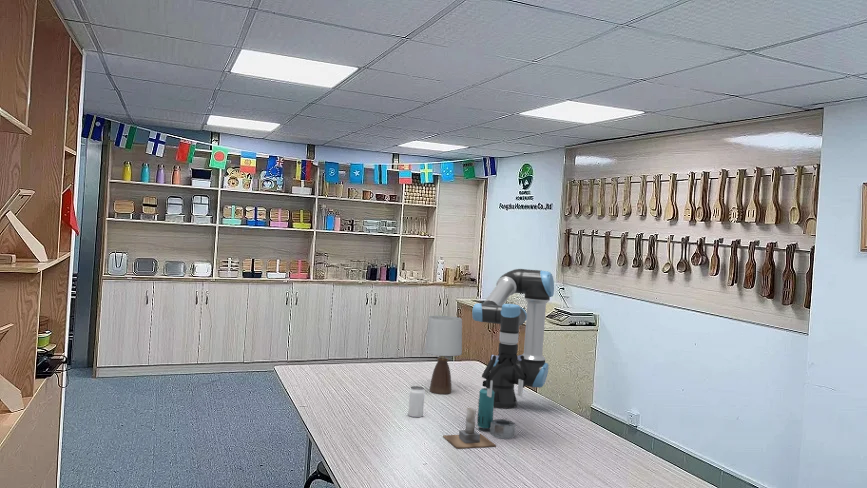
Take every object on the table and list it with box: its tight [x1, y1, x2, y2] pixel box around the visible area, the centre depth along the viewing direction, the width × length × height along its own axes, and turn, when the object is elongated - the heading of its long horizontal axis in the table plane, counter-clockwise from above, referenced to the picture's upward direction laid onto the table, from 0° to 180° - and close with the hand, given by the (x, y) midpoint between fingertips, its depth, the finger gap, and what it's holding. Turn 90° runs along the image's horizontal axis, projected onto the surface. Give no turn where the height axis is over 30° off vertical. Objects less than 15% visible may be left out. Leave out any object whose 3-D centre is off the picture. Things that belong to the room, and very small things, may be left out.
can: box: [407, 385, 425, 418], centre depth 281 cm, size 6×6×12 cm
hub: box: [489, 418, 516, 440], centre depth 261 cm, size 9×9×5 cm
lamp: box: [424, 315, 463, 395], centre depth 327 cm, size 19×19×37 cm
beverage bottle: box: [476, 379, 495, 429], centre depth 267 cm, size 6×7×20 cm
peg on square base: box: [442, 407, 497, 450], centre depth 250 cm, size 16×14×13 cm
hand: (504, 396), depth 261 cm, fingers open, 13 cm apart
